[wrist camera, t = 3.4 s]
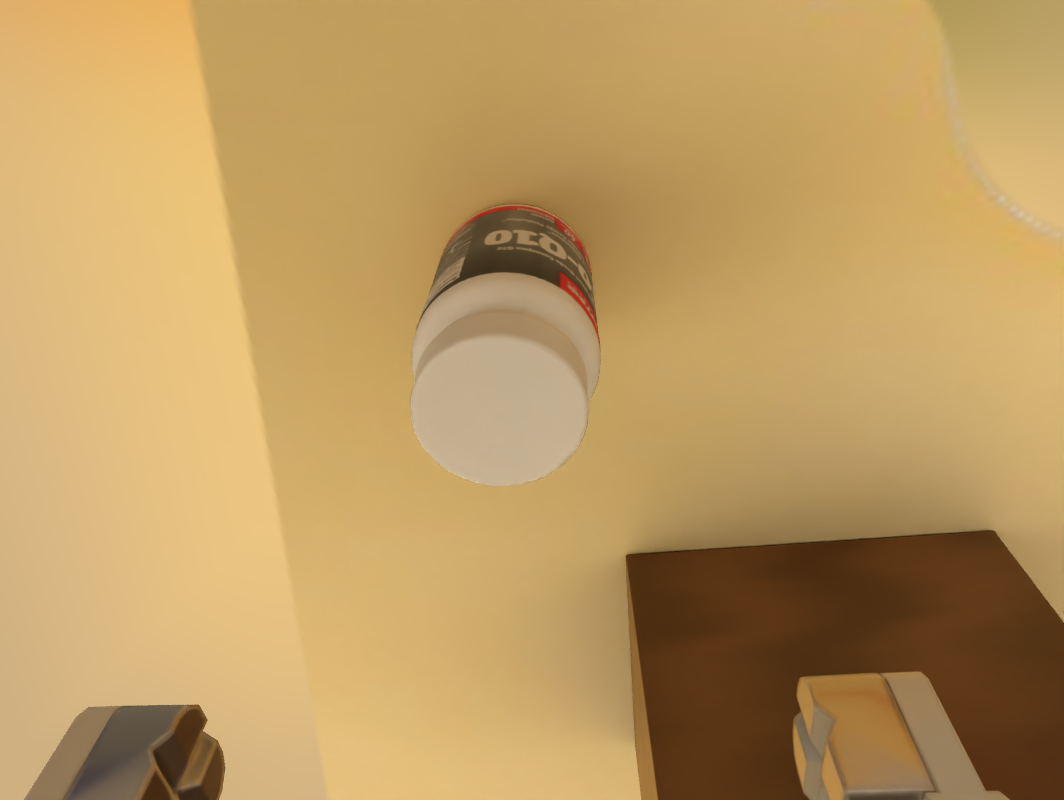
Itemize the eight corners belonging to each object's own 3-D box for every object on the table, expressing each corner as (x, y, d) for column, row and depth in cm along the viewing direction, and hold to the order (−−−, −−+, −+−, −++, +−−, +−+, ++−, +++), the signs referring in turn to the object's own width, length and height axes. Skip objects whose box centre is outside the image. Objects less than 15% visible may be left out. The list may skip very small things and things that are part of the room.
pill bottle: (620, 251, 24) (652, 386, 17) (539, 365, 26) (537, 529, 19) (486, 169, 22) (458, 277, 15) (414, 297, 25) (359, 444, 17)
